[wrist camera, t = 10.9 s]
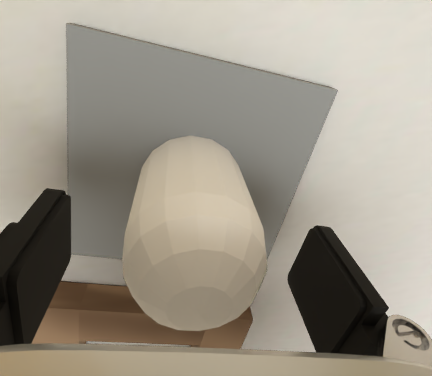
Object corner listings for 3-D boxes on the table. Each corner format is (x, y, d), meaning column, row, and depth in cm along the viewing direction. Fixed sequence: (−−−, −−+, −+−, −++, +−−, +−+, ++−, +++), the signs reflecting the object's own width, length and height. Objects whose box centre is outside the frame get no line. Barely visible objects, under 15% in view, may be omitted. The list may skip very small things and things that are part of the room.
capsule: (220, 118, 14) (261, 217, 7) (252, 204, 17) (305, 335, 10) (120, 159, 14) (64, 289, 7) (167, 236, 17) (158, 383, 10)
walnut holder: (206, 395, 28) (207, 420, 26) (47, 395, 25) (37, 423, 23) (247, 296, 21) (253, 320, 20) (38, 279, 18) (23, 306, 17)
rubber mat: (259, 265, 20) (261, 272, 19) (71, 247, 17) (68, 254, 17) (332, 87, 14) (338, 90, 14) (71, 23, 12) (66, 23, 11)
